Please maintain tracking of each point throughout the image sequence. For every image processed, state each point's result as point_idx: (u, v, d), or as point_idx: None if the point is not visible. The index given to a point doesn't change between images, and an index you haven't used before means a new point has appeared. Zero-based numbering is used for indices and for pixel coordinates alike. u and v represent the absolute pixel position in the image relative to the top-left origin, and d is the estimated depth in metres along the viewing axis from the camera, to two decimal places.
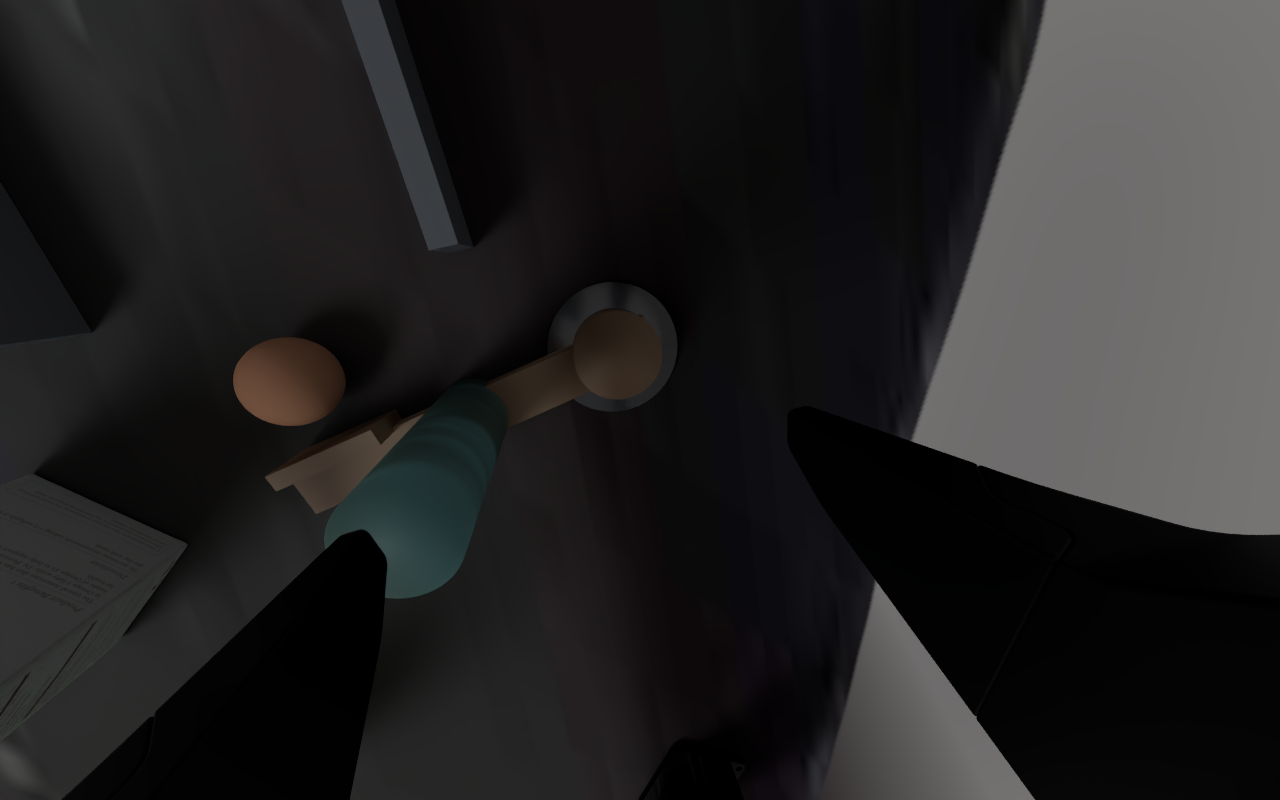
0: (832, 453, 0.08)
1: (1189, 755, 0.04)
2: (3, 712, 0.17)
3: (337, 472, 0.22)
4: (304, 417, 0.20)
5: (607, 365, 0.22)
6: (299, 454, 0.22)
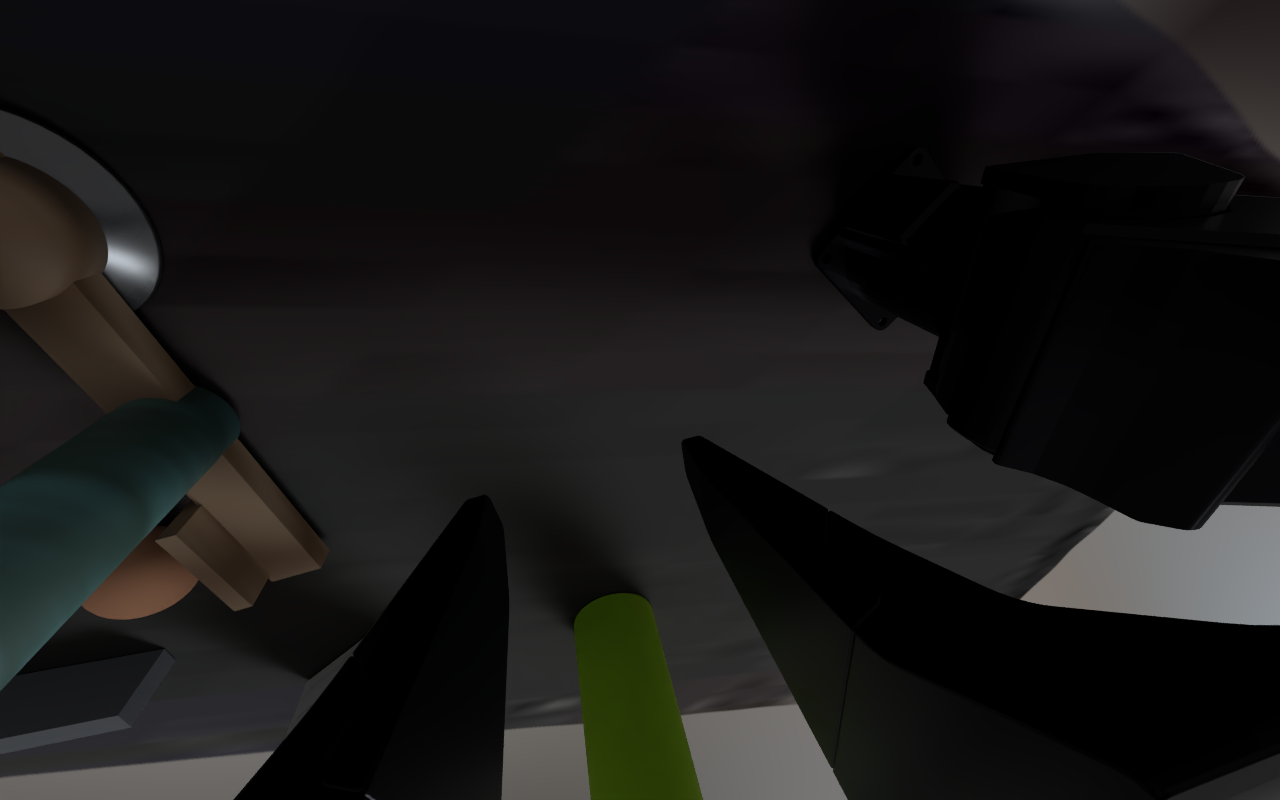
0: (707, 489, 0.08)
1: None
2: None
3: (266, 550, 0.22)
4: (158, 579, 0.20)
5: None
6: None
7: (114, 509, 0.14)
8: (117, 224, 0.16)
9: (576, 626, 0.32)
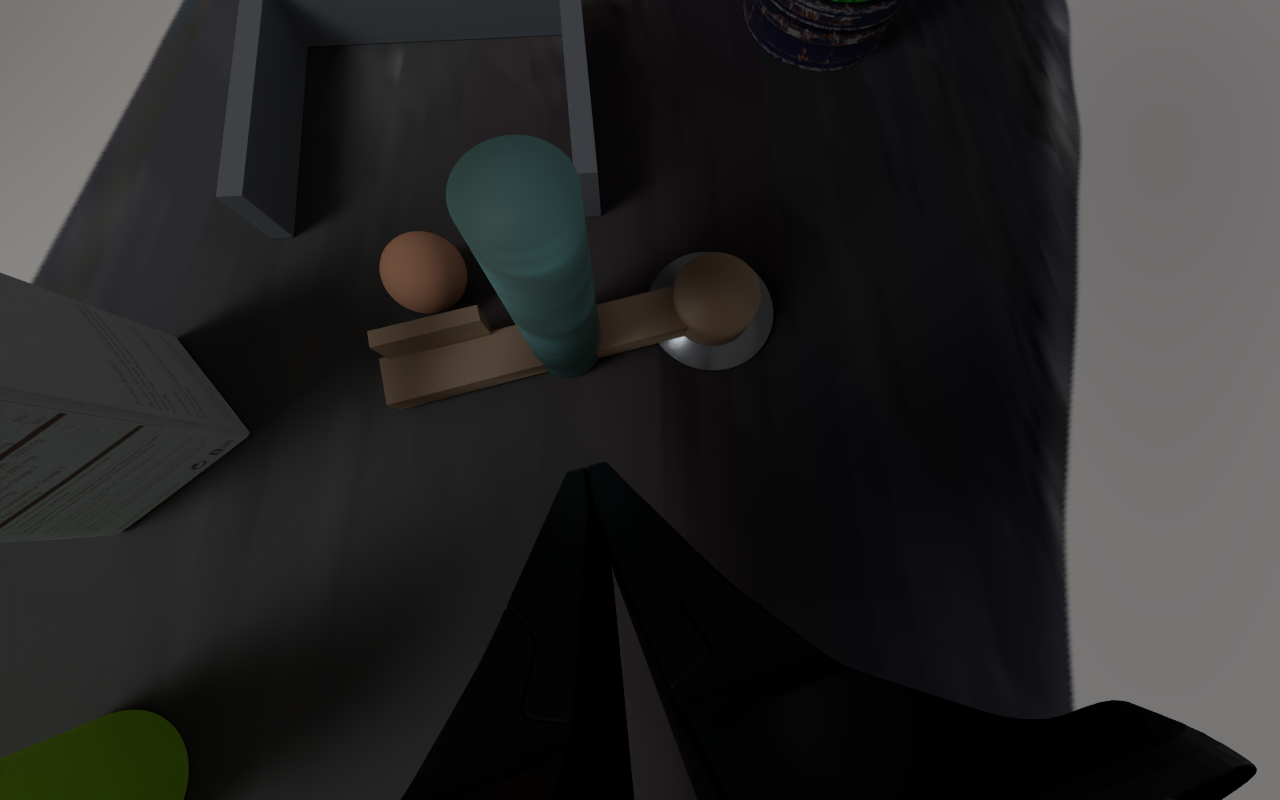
0: (597, 521, 0.08)
1: None
2: (3, 458, 0.15)
3: (424, 365, 0.22)
4: (424, 288, 0.21)
5: (706, 297, 0.23)
6: None
7: (564, 327, 0.17)
8: (715, 354, 0.24)
9: (134, 718, 0.19)
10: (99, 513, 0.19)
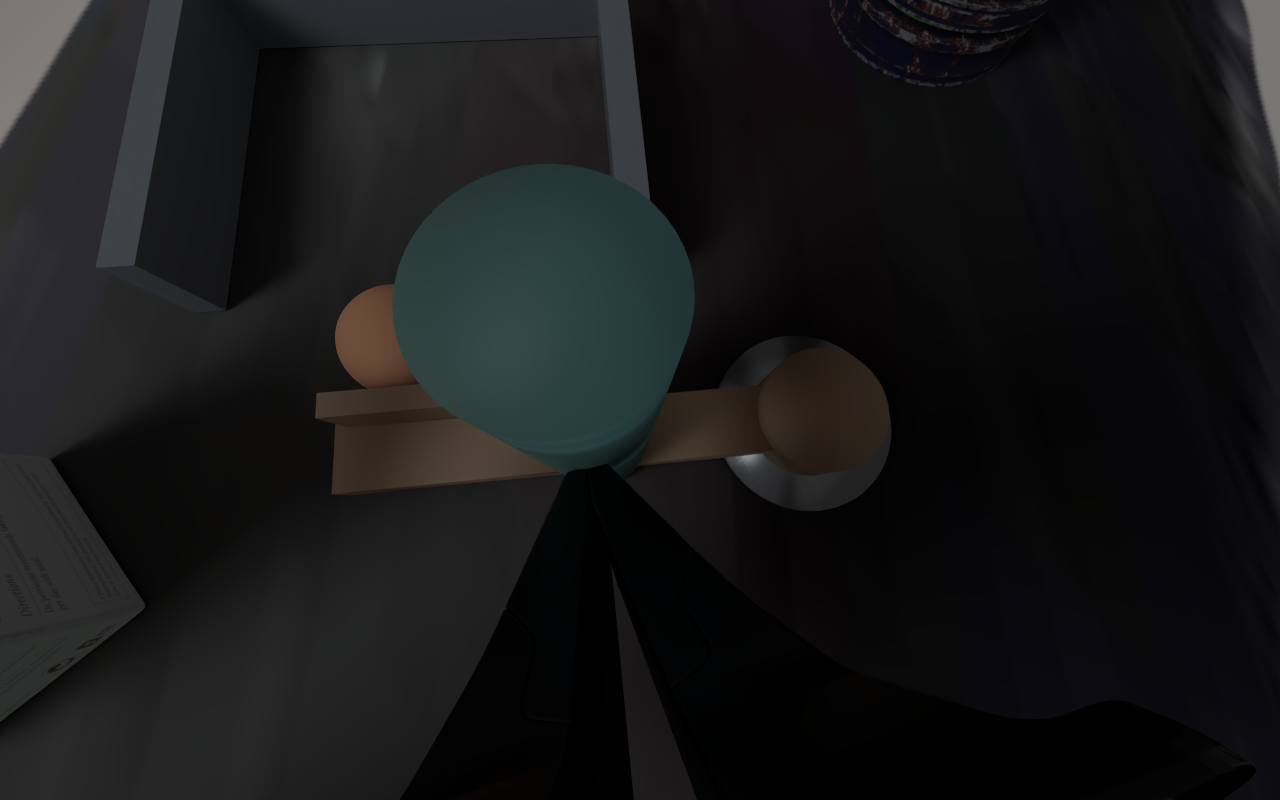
0: (597, 521, 0.08)
1: None
2: None
3: (395, 444, 0.15)
4: (390, 341, 0.14)
5: (808, 414, 0.15)
6: None
7: None
8: (813, 487, 0.17)
9: None
10: None
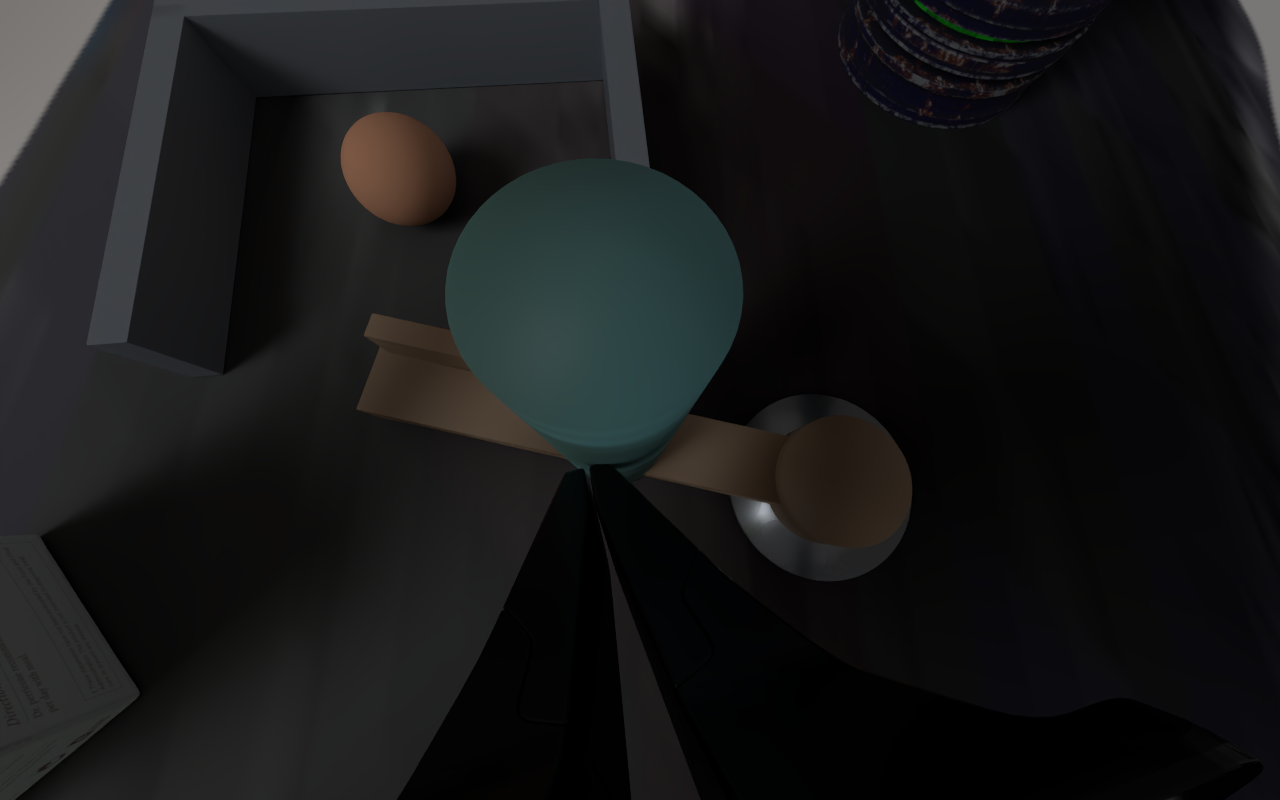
0: (600, 520, 0.08)
1: None
2: None
3: (427, 381, 0.16)
4: (418, 218, 0.18)
5: (827, 479, 0.15)
6: None
7: None
8: (833, 555, 0.16)
9: None
10: None
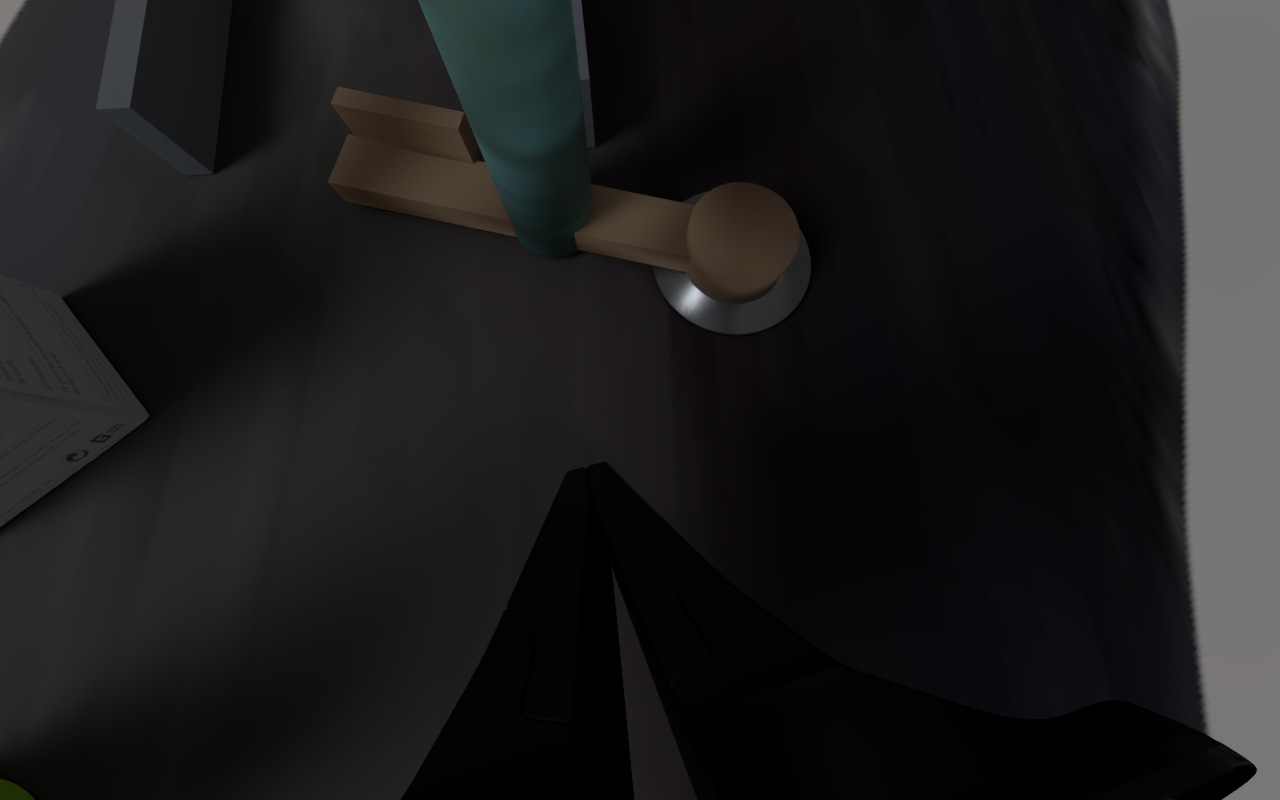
0: (597, 521, 0.08)
1: None
2: None
3: (388, 161, 0.19)
4: None
5: (726, 230, 0.18)
6: None
7: (511, 141, 0.13)
8: (740, 314, 0.19)
9: None
10: None
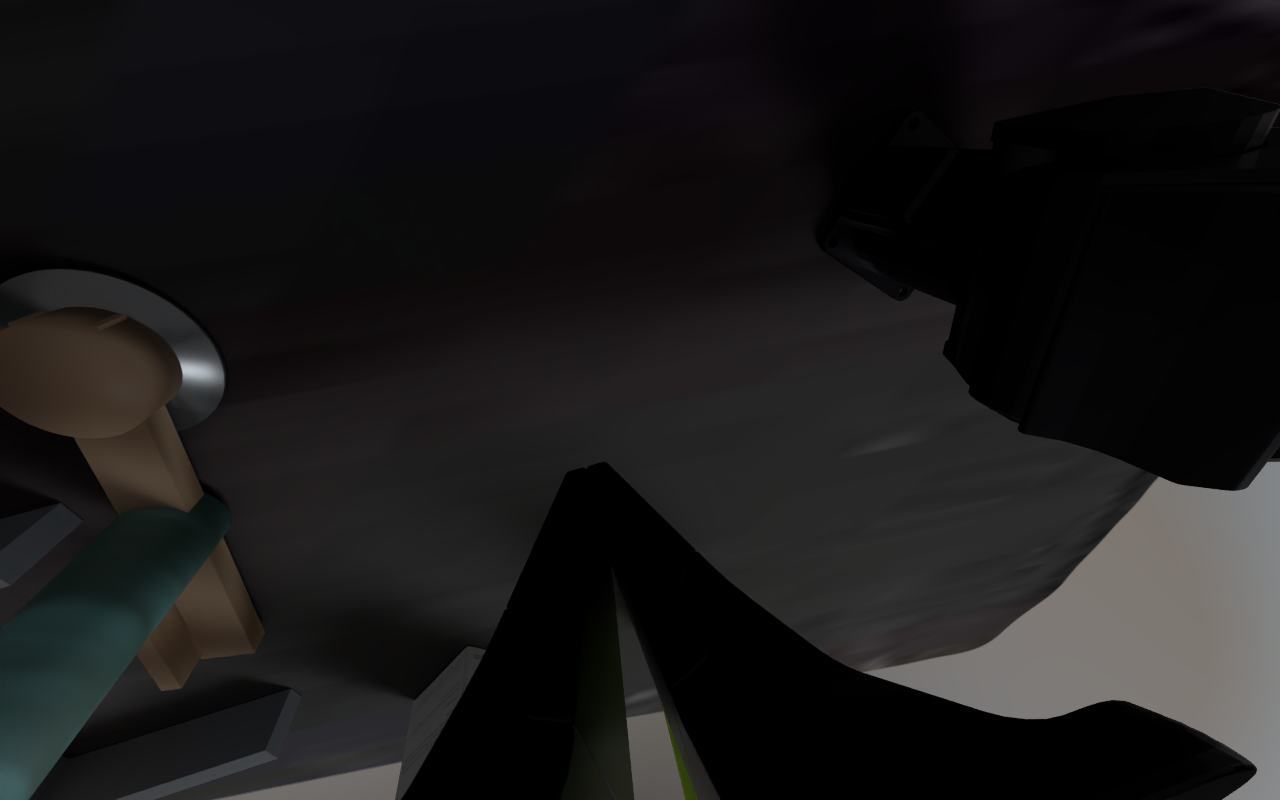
0: (597, 521, 0.08)
1: None
2: None
3: (209, 633, 0.23)
4: None
5: (80, 403, 0.16)
6: None
7: (130, 636, 0.16)
8: (184, 344, 0.18)
9: None
10: None
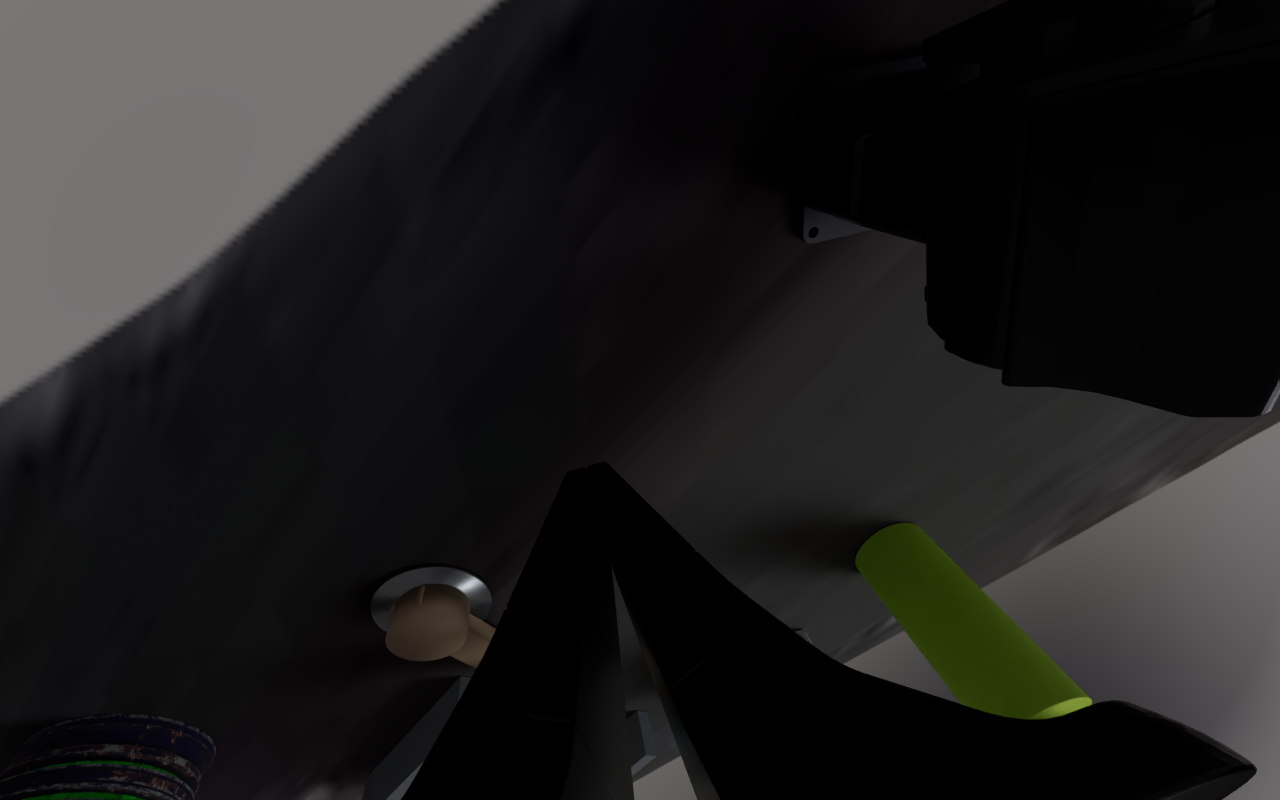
0: (597, 521, 0.08)
1: None
2: None
3: None
4: None
5: (437, 641, 0.27)
6: None
7: None
8: (455, 581, 0.27)
9: (861, 573, 0.36)
10: None
